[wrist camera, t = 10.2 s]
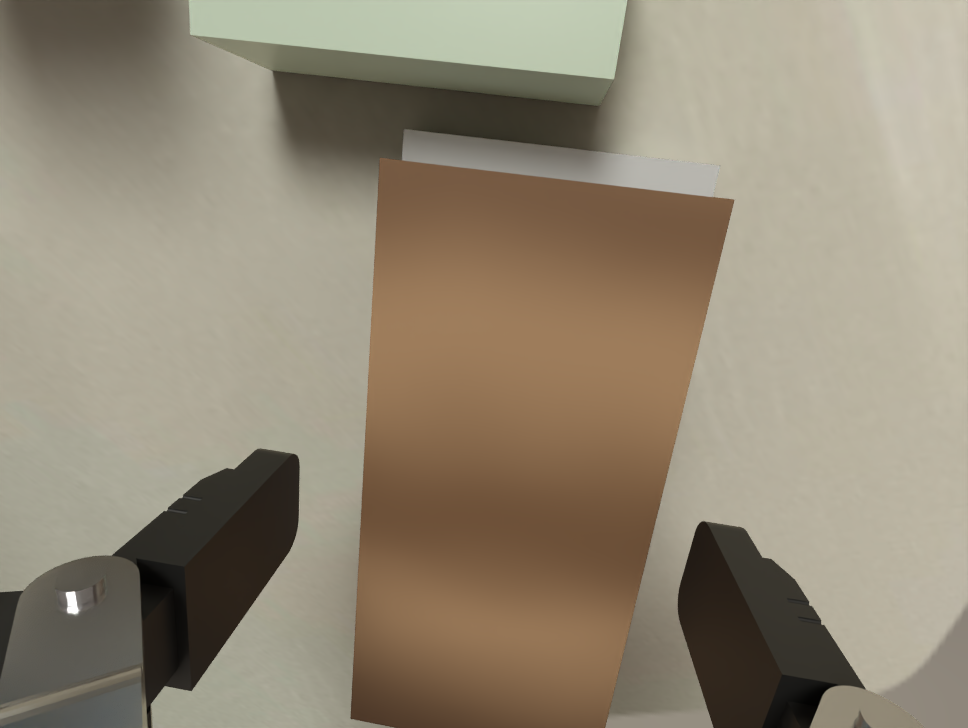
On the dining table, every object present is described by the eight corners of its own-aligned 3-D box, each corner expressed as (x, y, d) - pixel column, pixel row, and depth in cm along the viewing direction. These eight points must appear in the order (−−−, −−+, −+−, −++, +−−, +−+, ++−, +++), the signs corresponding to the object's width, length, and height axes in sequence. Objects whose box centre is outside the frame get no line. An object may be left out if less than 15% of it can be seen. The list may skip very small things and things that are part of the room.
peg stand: (383, 544, 22) (335, 643, 17) (412, 132, 17) (357, 109, 12) (614, 584, 21) (633, 700, 16) (710, 167, 16) (776, 156, 11)
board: (419, 165, 12) (379, 157, 10) (690, 198, 12) (734, 199, 9) (385, 627, 16) (350, 718, 14) (587, 664, 16) (595, 767, 13)
